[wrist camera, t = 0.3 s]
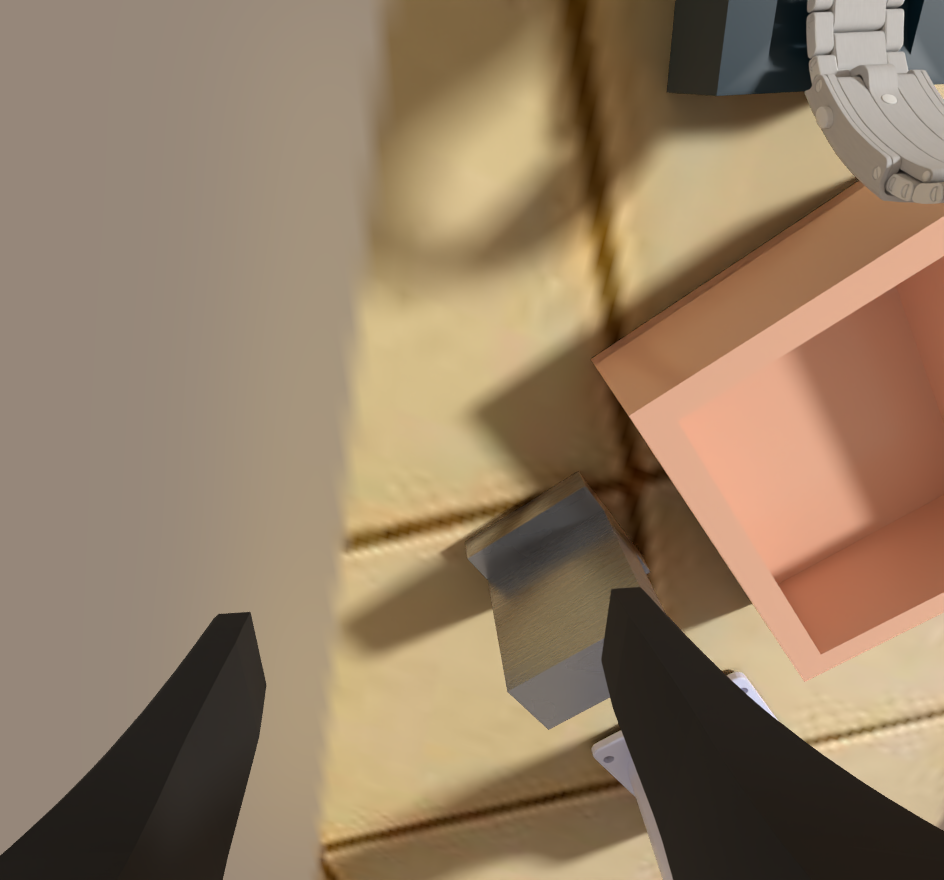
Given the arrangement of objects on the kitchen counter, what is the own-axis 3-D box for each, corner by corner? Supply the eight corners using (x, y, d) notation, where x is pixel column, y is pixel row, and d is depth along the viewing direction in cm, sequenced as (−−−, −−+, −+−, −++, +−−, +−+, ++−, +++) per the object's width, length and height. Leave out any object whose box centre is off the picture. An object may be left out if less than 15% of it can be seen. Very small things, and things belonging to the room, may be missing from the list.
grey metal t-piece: (641, 554, 25) (704, 678, 20) (535, 616, 26) (569, 748, 21) (578, 470, 23) (630, 585, 18) (465, 541, 24) (483, 669, 19)
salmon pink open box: (986, 479, 25) (1079, 544, 22) (752, 604, 27) (804, 681, 24) (883, 164, 19) (992, 185, 15) (590, 359, 21) (629, 415, 18)
